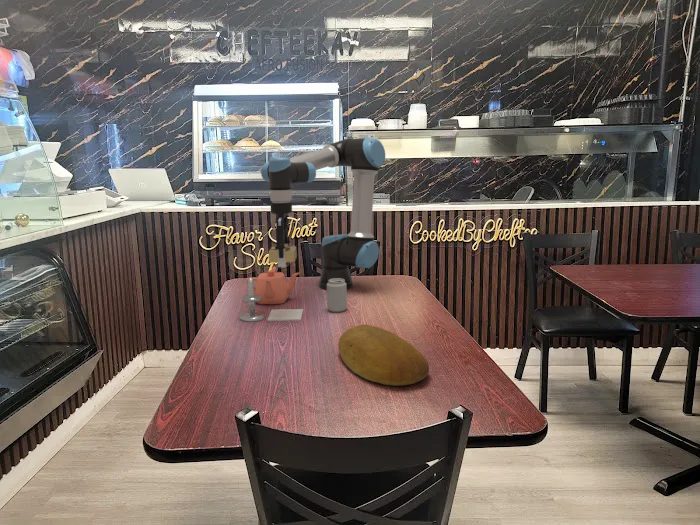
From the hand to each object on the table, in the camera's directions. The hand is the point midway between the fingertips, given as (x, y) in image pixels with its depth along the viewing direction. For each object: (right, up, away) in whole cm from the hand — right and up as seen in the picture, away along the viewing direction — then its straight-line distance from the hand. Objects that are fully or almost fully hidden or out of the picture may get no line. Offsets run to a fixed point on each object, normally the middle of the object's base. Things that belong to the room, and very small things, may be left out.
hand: (283, 263), depth 191 cm
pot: (-7, -15, +25) cm, 30 cm away
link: (0, +2, 0) cm, 2 cm away
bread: (+32, -29, -41) cm, 60 cm away
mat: (0, -19, +4) cm, 20 cm away
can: (+19, -18, +10) cm, 28 cm away
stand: (-12, -20, +2) cm, 23 cm away
